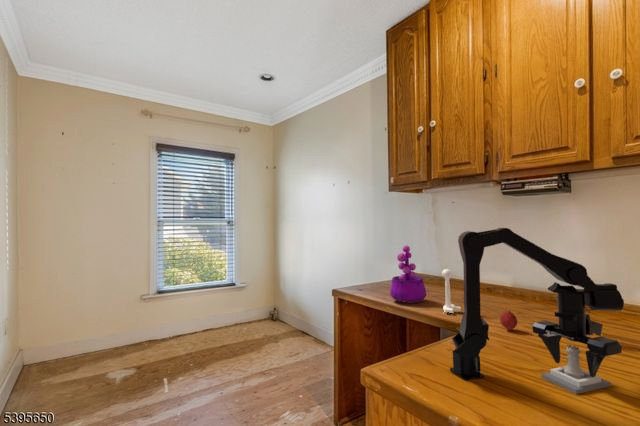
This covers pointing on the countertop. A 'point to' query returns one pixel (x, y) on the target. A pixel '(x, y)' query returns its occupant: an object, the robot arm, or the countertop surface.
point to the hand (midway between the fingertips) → (574, 369)
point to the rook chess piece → (573, 363)
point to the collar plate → (575, 381)
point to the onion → (508, 320)
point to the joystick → (448, 293)
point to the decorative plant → (407, 281)
